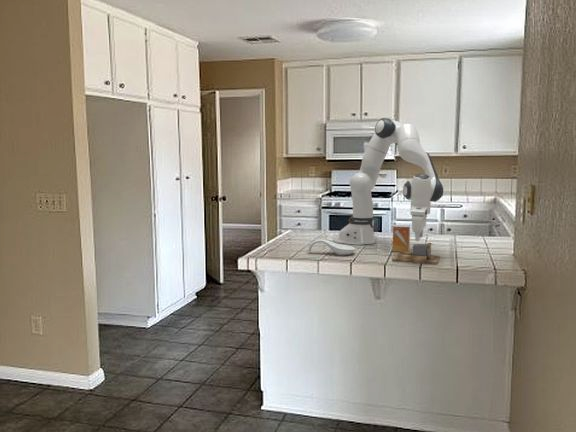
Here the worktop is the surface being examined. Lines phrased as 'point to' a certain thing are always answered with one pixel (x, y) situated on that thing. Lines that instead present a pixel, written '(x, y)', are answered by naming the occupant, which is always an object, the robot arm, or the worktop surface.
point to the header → (417, 257)
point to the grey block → (419, 249)
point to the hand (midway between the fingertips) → (418, 239)
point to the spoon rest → (334, 247)
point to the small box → (401, 238)
